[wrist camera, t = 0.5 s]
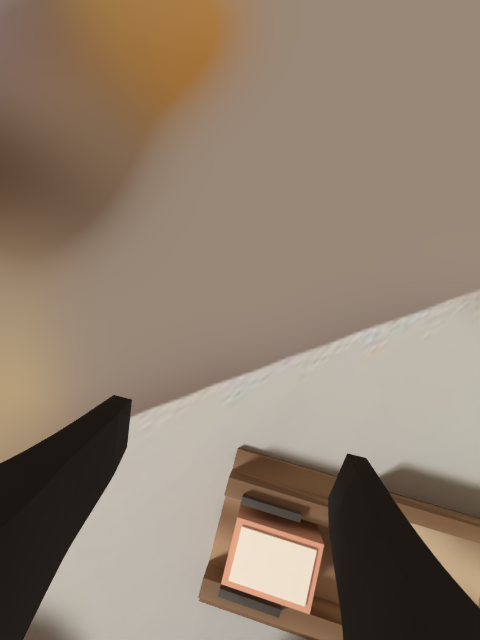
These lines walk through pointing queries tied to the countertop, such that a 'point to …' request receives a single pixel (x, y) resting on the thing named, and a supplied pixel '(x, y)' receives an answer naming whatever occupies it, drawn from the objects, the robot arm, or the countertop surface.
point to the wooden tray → (312, 505)
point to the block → (274, 558)
